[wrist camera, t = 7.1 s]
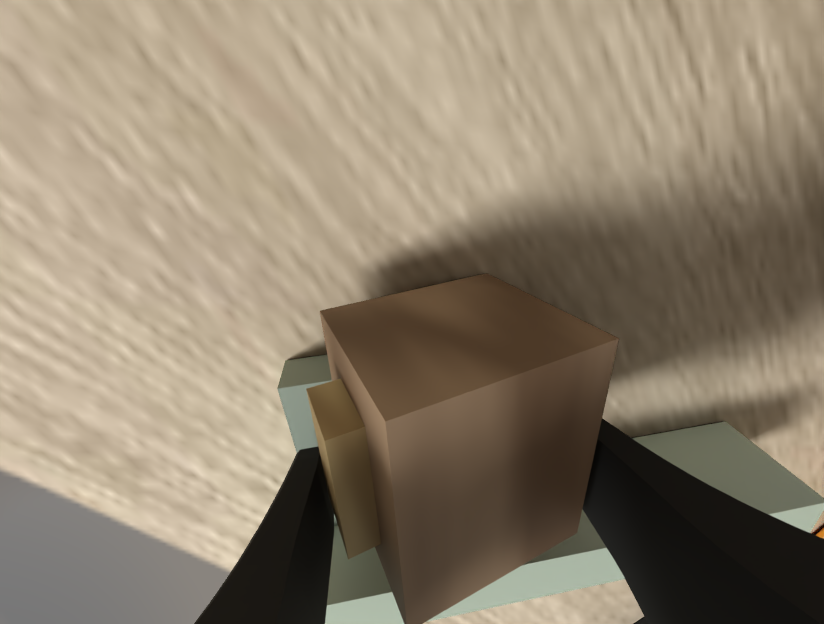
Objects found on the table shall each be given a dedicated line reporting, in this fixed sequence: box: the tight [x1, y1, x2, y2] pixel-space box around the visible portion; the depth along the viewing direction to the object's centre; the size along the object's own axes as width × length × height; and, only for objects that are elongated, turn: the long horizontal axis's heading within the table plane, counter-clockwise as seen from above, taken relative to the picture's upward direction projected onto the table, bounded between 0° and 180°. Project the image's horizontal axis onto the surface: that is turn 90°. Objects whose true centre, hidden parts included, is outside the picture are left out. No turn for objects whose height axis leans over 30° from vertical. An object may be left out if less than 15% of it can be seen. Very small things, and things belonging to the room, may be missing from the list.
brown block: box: [306, 273, 619, 624], centre depth 10 cm, size 4×6×6 cm
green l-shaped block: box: [278, 355, 824, 624], centre depth 12 cm, size 17×8×4 cm, turn 95°
